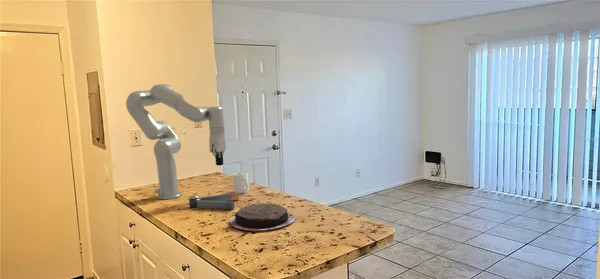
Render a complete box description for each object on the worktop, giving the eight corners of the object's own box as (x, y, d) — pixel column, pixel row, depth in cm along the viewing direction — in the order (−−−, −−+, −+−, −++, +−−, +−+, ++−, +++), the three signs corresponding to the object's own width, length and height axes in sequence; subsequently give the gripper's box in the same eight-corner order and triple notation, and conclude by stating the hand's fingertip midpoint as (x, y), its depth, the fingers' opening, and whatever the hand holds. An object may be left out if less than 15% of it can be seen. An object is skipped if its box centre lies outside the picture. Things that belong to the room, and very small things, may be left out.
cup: (245, 188, 230) (243, 171, 228) (254, 193, 220) (253, 174, 218) (231, 191, 225) (230, 173, 224) (240, 195, 215) (239, 177, 214)
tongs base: (186, 208, 198) (186, 200, 197) (193, 204, 203) (192, 197, 203) (231, 210, 191) (231, 202, 190) (237, 206, 196) (236, 198, 195)
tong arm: (190, 207, 197) (189, 197, 197) (190, 204, 202) (189, 195, 202) (239, 200, 205) (238, 191, 204) (237, 198, 209) (237, 189, 209)
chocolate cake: (307, 215, 179) (306, 201, 178) (271, 237, 155) (270, 221, 154) (256, 208, 193) (255, 195, 192) (216, 227, 170) (215, 212, 169)
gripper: (217, 128, 220) (220, 162, 223) (203, 132, 206) (206, 167, 208) (230, 128, 218) (232, 162, 220) (216, 132, 203) (219, 168, 206)
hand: (219, 164), depth 214 cm, fingers closed
